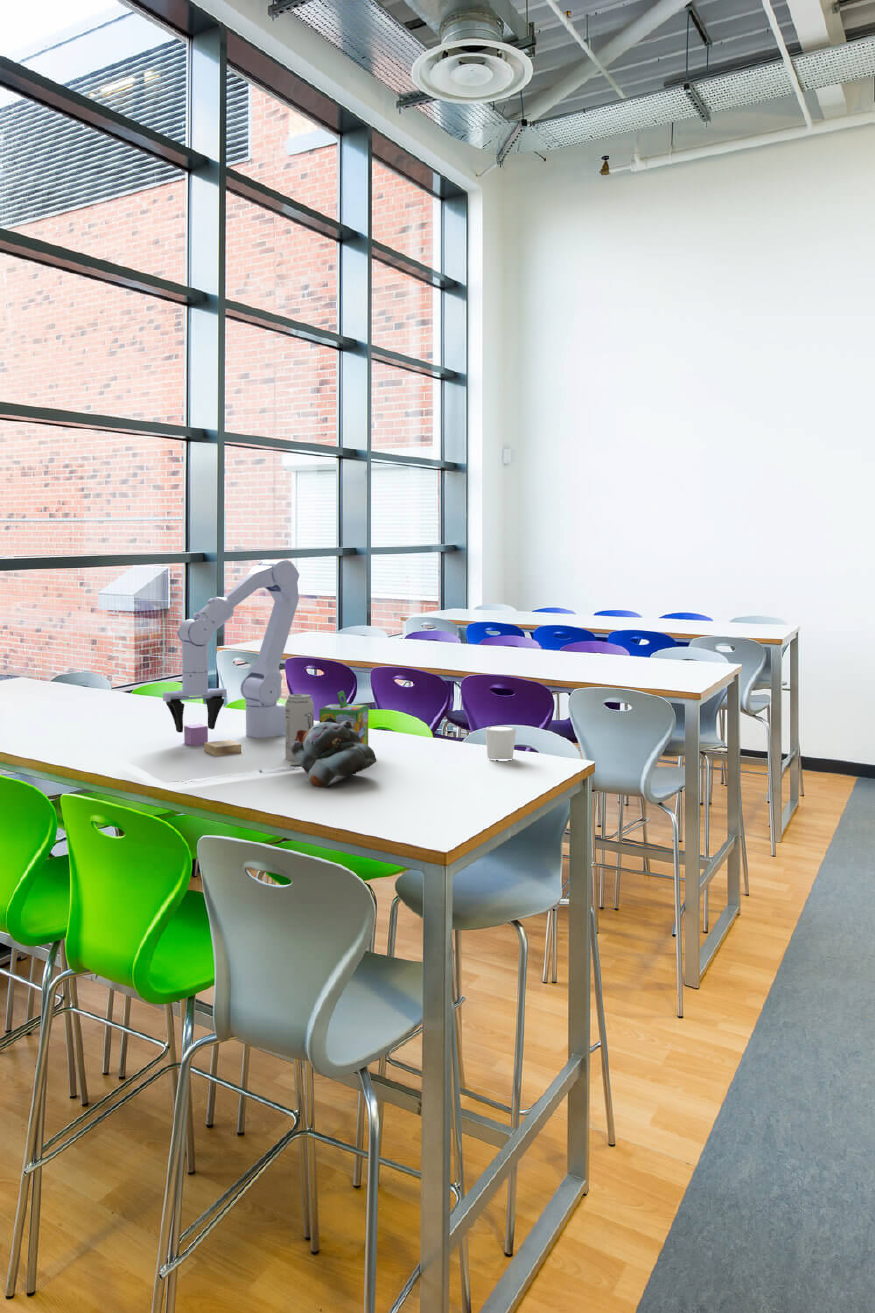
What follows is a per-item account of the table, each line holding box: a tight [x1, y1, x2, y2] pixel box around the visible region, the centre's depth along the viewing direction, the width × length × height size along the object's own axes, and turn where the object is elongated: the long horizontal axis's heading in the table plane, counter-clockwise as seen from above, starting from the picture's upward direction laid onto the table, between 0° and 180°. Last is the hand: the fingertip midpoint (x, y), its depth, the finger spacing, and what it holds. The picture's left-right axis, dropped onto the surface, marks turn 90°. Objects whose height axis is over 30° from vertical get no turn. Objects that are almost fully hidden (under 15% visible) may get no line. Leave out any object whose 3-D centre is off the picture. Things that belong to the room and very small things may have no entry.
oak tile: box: [203, 739, 242, 757], centre depth 198 cm, size 6×6×2 cm
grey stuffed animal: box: [290, 718, 377, 789], centre depth 180 cm, size 15×12×14 cm
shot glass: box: [485, 725, 517, 760], centre depth 202 cm, size 7×7×7 cm
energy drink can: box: [284, 693, 315, 768], centre depth 192 cm, size 6×6×15 cm
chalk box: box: [319, 690, 369, 746], centre depth 201 cm, size 9×9×15 cm
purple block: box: [183, 723, 209, 747], centre depth 207 cm, size 4×4×6 cm
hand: (195, 730), depth 206 cm, fingers open, 7 cm apart
